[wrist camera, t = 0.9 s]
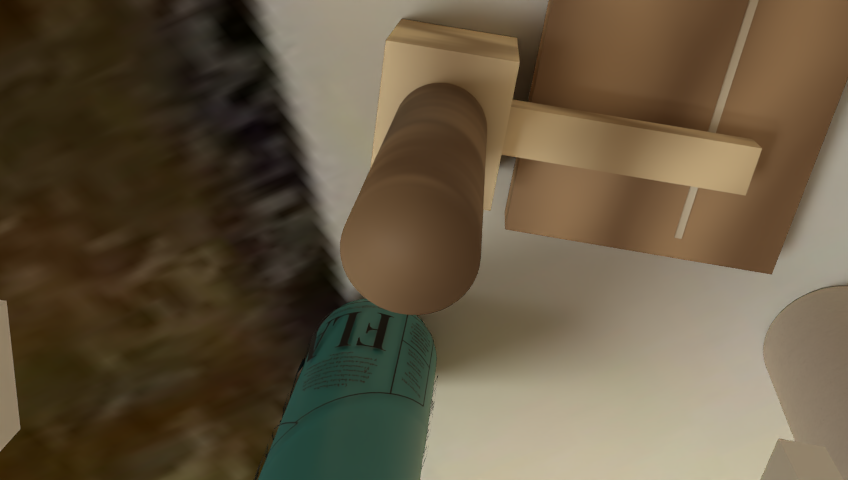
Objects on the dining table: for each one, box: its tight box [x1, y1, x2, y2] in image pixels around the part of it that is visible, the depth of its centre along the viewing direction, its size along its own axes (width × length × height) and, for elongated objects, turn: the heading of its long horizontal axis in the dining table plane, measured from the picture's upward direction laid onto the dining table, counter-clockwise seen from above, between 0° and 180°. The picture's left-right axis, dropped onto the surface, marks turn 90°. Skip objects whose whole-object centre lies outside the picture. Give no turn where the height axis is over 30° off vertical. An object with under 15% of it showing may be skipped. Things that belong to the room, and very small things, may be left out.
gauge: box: [340, 19, 762, 315], centre depth 27 cm, size 15×6×16 cm, turn 82°
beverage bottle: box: [253, 299, 438, 480], centre depth 30 cm, size 6×7×20 cm
